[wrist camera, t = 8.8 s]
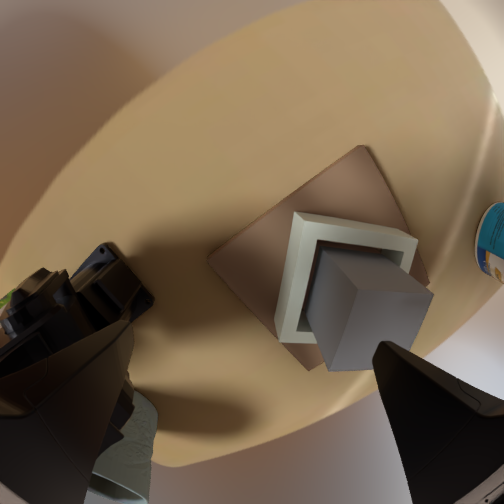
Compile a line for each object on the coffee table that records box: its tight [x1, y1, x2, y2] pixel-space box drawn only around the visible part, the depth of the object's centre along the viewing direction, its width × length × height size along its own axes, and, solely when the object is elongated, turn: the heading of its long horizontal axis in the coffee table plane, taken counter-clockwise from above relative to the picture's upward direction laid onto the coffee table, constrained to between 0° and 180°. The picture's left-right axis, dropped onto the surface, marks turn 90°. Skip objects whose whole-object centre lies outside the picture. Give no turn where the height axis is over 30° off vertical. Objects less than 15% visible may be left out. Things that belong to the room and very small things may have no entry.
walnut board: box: [207, 145, 430, 371], centre depth 21 cm, size 14×14×1 cm
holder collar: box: [274, 211, 418, 344], centre depth 19 cm, size 9×9×3 cm
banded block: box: [302, 240, 434, 372], centre depth 16 cm, size 5×5×8 cm
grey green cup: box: [87, 390, 158, 504], centre depth 20 cm, size 10×10×12 cm
